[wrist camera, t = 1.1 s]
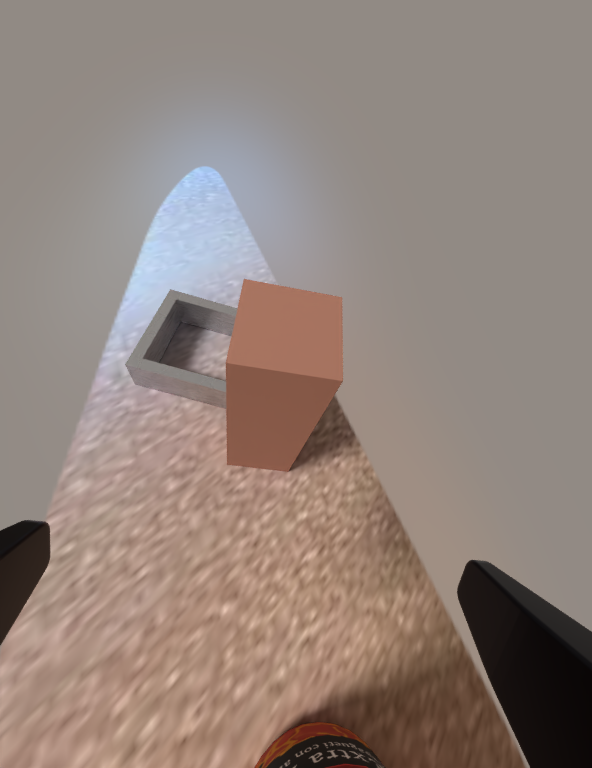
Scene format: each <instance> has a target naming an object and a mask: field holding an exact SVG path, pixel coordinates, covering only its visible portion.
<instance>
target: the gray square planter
mask: <svg viewBox="0 0 592 768" xmlns="http://www.w3.org/2000/svg"><path fill="white" fill-rule="evenodd" d="M236 314H237V308H234V307H230V306H227V305H223V304H220V303H216V302H213V301H209V300H206V299H202V298H199V297H195V296H192V295H188V294H185V293H181V292H178V291H174V290H171V289H170V291H169V293H168V294H167V296H166V298H165V299H164V301H163V303H162V304H161V306H160V308H159V309H158V311H157V313H156V314H155V316H154V318H153V319H152V321H151V323H150V324H149V326H148V328H147V329H146V331H145V333H144V334H143V336H142V338H141V339H140V341H139V343H138V344H137V346H136V348H135V349H134V351H133V353H132V354H131V356H130V358H129V359H128V361H127V363H126V364H125V365H126V367H127V369H128V371H129V373H130V375H131V377H132V379H133V381H134V383H135V384H137V385H140V386H144V387H148V388H151V389H155V390H159V391H162V392H166V393H170V394H174V395H177V396H181V397H185V398H188V399H192V400H196V401H200V402H203V403H207V404H211V405H214V406H218V407H222V408H225V409H226V381H223V380H219V379H216V378H212V377H208V376H205V375H201V374H197V373H194V372H190V371H187V370H183V369H179V368H176V367H172V366H168V365H165V364H161V363H159V361H160V359H161V357H162V356H163V354H164V352H165V350H166V348H167V346H168V344H169V343H170V341H171V339H172V337H173V335H174V333H175V331H176V330H177V328H178V326H179V324H180V322H183V323H187V324H191V325H194V326H198V327H201V328H205V329H208V330H212V331H215V332H219V333H223V334H226V335H230V336H232V332H233V328H234V323H235V318H236Z"/></svg>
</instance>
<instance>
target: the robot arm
mask: <svg viewBox="0 0 592 768" xmlns="http://www.w3.org/2000/svg"><path fill="white" fill-rule="evenodd" d="M49 560H50V527H49V524H48V523H46V522H44V521H32V520H24V521H21V522H18V523H16V524H14V525H12V526H10V527H7V528H5V529H3V530H1V531H0V645H1V644H2V642H3V640H4V639H5V637H6V635H7V634H8V632H9V630H10V629H11V627H12V625H13V624H14V622H15V620H16V619H17V617H18V615H19V614H20V612H21V610H22V609H23V607H24V605H25V604H26V602H27V600H28V599H29V597H30V595H31V594H32V592H33V590H34V589H35V587H36V585H37V584H38V582H39V580H40V579H41V577H42V575H43V573H44V572H45V570H46V568H47V566H48V563H49ZM457 594H458V599H459V602H460V605H461V608H462V610H463V613H464V616H465V618H466V621H467V623H468V626H469V629H470V631H471V634H472V636H473V639H474V642H475V644H476V647H477V650H478V652H479V655H480V657H481V660H482V662H483V665H484V667H485V670H486V673H487V675H488V678H489V680H490V682H491V684H492V687H493V689H494V691H495V693H496V695H497V698H498V700H499V702H500V704H501V706H502V708H503V710H504V713H505V715H506V717H507V719H508V721H509V723H510V725H511V728H512V730H513V732H514V734H515V736H516V738H517V740H518V743H519V745H520V747H521V749H522V751H523V753H524V755H525V757H526V760H527V762H528V764H529V766H530V768H592V632H591V631H589V630H588V629H587V628H585V627H584V626H582V625H581V624H579V623H578V622H576V621H575V620H574V619H572V618H571V617H569V616H568V615H566V614H564V613H563V612H562V611H560V610H559V609H557V608H556V607H554V606H553V605H551V604H550V603H548V602H547V601H545V600H544V599H542V598H541V597H539V596H538V595H537V594H535V593H533V592H532V591H530V590H529V589H528V588H526V587H525V586H523V585H522V584H520V583H519V582H517V581H516V580H514V579H513V578H512V577H510V576H509V575H507V574H505V573H504V572H503V571H501V570H500V569H498V568H497V567H495V566H494V565H492V564H491V563H489V562H486V561H478V560H470V561H469V562H468V563H467V564H466V566H465V569H464V572H463V574H462V577H461V580H460V583H459V585H458V591H457Z"/></svg>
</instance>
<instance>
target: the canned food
mask: <svg viewBox="0 0 592 768" xmlns="http://www.w3.org/2000/svg"><path fill="white" fill-rule="evenodd" d="M255 768H386V767H385V766H384V765H383V764H382V763H381V761H380V760H379V759H378V758H377V756H376V755H375V754H374V753H373V752H372V750H371V749H370V748H369V747H368V746H367V744H366V743H365V742H364V741H363V740H361V739H360V738H359V737H358V736H356V735H355V734H354V733H353V732H351V731H350V730H347V729H345V728H343V727H341V726H338V725H336V724H331V723H323V722H315V723H308V724H302V725H300V726H297V727H295V728H293V729H291V730H289V731H287V732H286V733H284V734H283V735H282V736H281V737H279V738H278V739H277V740H276V741H274V742H273V743H272V745H271V746H270V747H269V748H268V749H267V750H266V752H265V753H264V754H263V755H262V756H261V758H260V760H259V761H258V763H257V765H256V766H255Z"/></svg>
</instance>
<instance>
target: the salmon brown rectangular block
mask: <svg viewBox="0 0 592 768" xmlns="http://www.w3.org/2000/svg"><path fill="white" fill-rule="evenodd" d="M342 339H343V336H342V297H337V296H332V295H327V294H321V293H316V292H311V291H305V290H300V289H294V288H289V287H284V286H279V285H273V284H268V283H263V282H257V281H252V280H247V279H244V281H243V286H242V291H241V295H240V300H239V305H238V309H237V314H236V318H235V323H234V328H233V332H232V337H231V341H230V346H229V351H228V355H227V360H226V414H227V465H236V466H244V467H253V468H261V469H270V470H278V471H287V472H288V471H289V469H290V467H291V466H292V464H293V463H294V461H295V459H296V458H297V456H298V454H299V453H300V451H301V449H302V448H303V446H304V444H305V443H306V441H307V439H308V438H309V436H310V434H311V433H312V431H313V430H314V428H315V426H316V425H317V423H318V421H319V420H320V418H321V416H322V415H323V413H324V411H325V410H326V408H327V406H328V405H329V403H330V401H331V400H332V398H333V397H334V395H335V393H336V392H337V390H338V388H339V387H340V385H341V383H342V382H343V340H342Z"/></svg>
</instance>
